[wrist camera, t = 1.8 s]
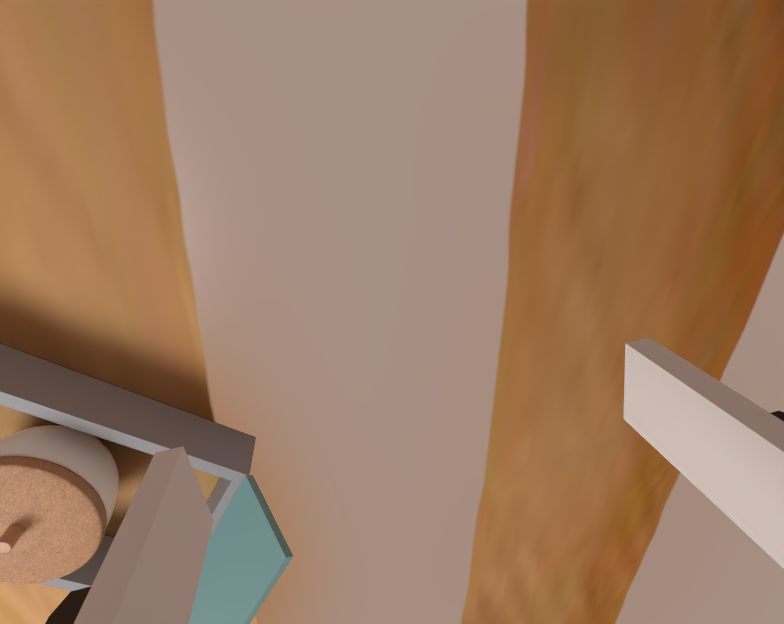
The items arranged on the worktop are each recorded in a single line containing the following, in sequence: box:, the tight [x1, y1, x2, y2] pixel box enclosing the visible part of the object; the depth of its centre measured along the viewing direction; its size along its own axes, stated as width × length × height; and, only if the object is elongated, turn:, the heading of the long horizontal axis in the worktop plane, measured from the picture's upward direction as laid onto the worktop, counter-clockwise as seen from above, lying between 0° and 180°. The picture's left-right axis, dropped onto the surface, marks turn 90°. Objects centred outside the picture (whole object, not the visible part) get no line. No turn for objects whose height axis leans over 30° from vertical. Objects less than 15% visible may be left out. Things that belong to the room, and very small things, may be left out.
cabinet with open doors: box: [0, 344, 293, 624], centre depth 35 cm, size 34×16×12 cm, turn 59°
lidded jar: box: [0, 425, 119, 584], centre depth 36 cm, size 11×11×9 cm
